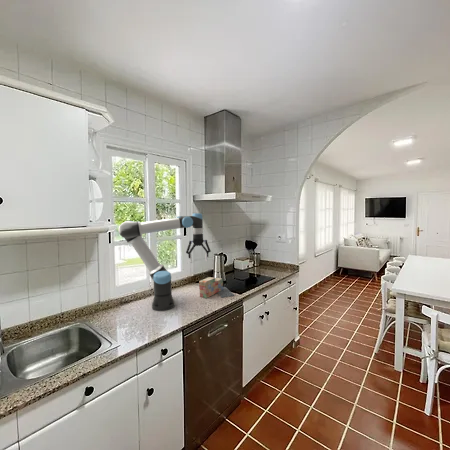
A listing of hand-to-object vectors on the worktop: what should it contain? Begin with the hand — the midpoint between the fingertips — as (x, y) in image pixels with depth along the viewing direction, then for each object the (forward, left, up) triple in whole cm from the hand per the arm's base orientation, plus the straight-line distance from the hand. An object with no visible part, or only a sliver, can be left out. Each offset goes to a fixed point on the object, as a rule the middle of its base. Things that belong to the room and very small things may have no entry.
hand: (198, 261), depth 190 cm
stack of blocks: (+10, 0, -26) cm, 28 cm away
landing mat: (+19, 0, -26) cm, 33 cm away
